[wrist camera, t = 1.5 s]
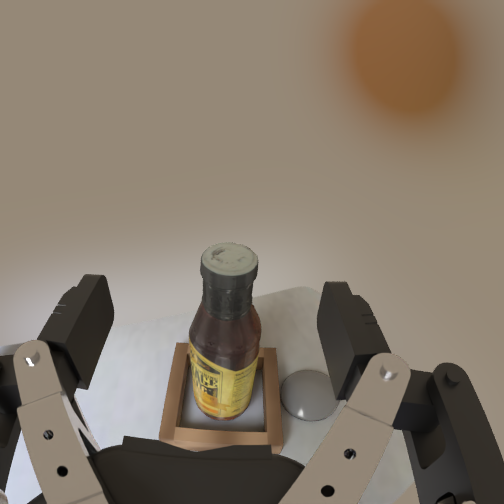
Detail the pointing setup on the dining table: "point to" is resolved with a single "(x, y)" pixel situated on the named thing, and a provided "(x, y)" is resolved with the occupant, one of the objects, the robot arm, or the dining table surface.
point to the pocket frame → (213, 438)
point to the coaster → (308, 395)
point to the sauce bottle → (225, 332)
